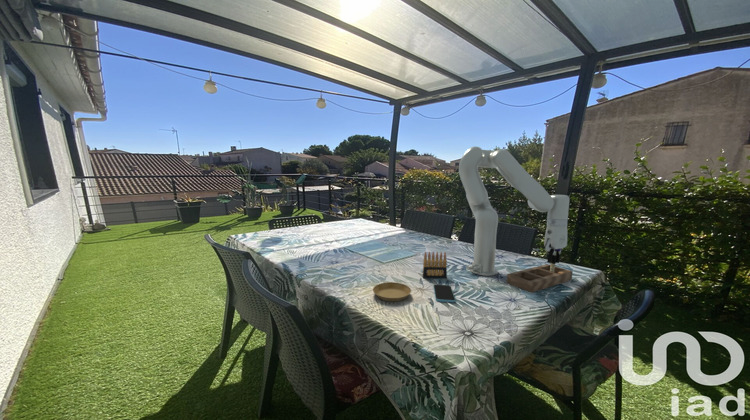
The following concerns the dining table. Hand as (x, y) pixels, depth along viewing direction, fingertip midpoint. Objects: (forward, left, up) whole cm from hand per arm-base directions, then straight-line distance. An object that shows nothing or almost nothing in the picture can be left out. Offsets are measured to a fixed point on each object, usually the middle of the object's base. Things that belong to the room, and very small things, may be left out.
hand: (553, 262), depth 122 cm
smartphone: (-55, +10, -8) cm, 57 cm away
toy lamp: (+1, 0, -7) cm, 7 cm away
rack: (-9, 0, -7) cm, 12 cm away
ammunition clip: (-47, +25, -7) cm, 54 cm away
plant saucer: (-74, +18, -8) cm, 77 cm away
